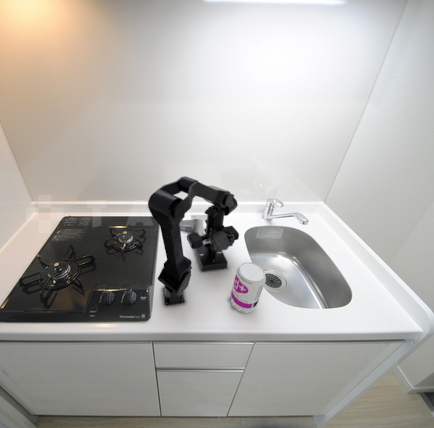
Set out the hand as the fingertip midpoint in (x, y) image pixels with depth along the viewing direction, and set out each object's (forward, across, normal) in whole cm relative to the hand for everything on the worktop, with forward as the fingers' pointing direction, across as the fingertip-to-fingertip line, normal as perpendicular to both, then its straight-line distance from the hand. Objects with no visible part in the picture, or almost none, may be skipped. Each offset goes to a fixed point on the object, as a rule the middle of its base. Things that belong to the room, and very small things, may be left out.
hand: (210, 253), depth 82 cm
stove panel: (+4, 0, +2) cm, 4 cm away
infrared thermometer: (+4, -4, +19) cm, 19 cm away
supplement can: (+4, +2, -20) cm, 21 cm away
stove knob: (0, 0, 0) cm, 0 cm away
